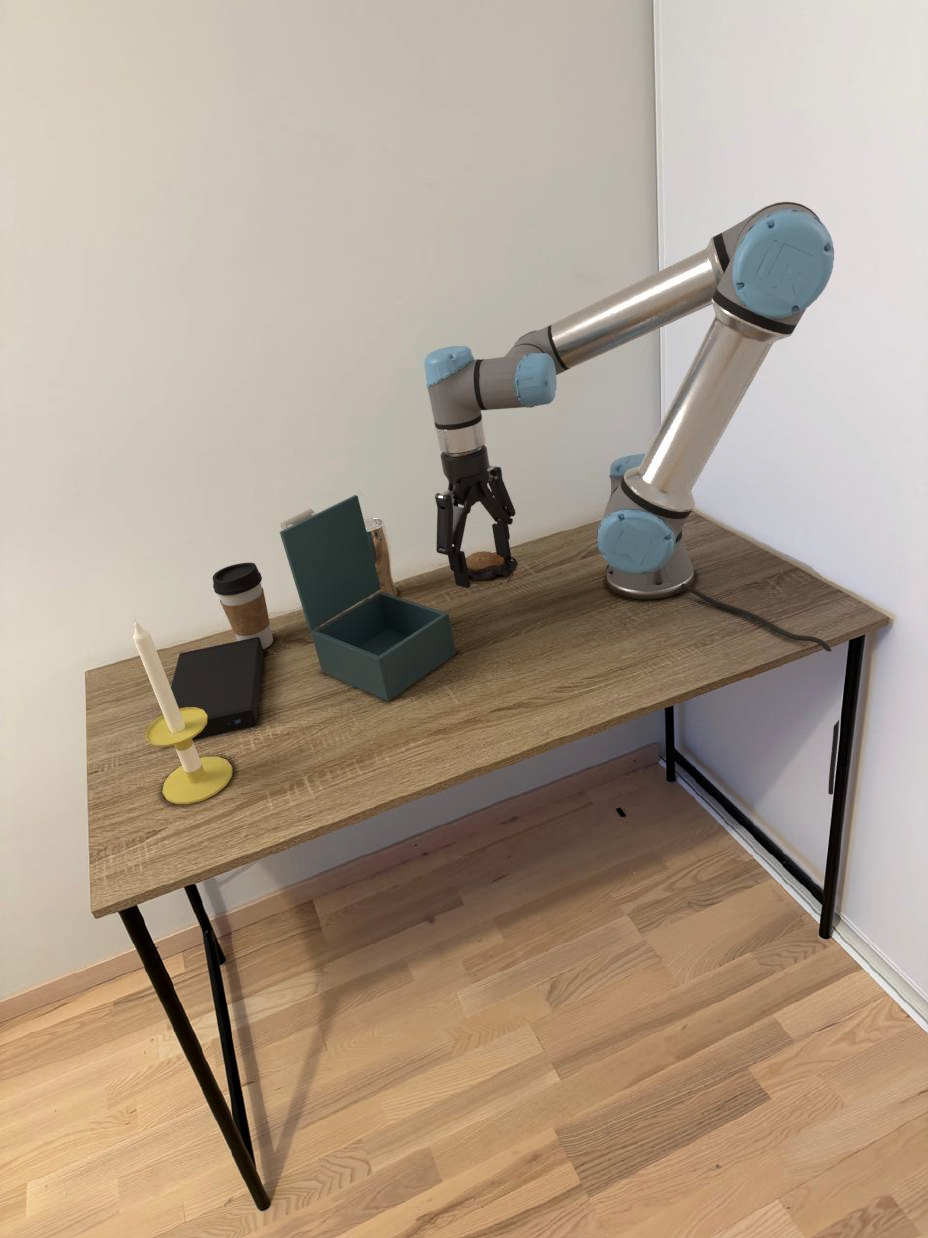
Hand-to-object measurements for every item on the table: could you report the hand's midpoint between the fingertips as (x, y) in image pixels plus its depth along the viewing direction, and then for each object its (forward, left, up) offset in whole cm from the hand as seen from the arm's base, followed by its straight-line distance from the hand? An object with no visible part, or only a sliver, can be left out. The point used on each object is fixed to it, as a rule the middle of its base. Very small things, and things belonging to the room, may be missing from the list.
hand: (484, 572), depth 145 cm
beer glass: (+24, +4, -9) cm, 26 cm away
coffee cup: (+32, +28, -9) cm, 44 cm away
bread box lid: (+14, +20, +8) cm, 26 cm away
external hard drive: (+24, +42, -9) cm, 49 cm away
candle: (+7, +56, -9) cm, 57 cm away
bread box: (+5, +20, -9) cm, 23 cm away
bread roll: (0, 0, -1) cm, 1 cm away
